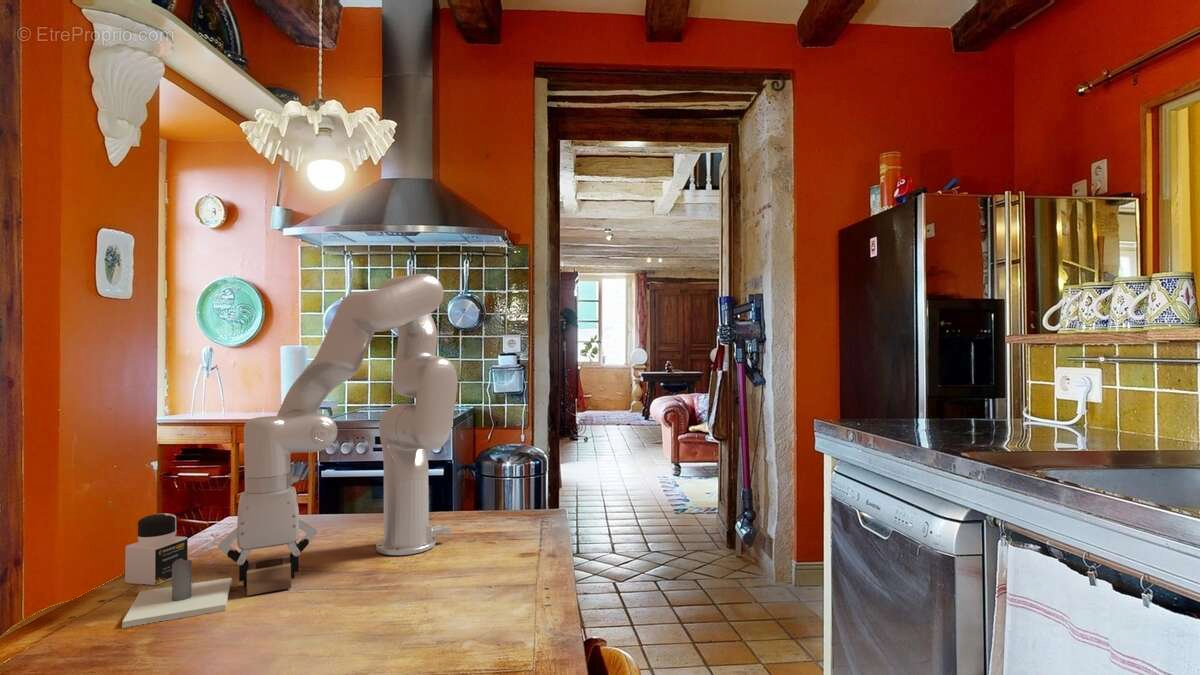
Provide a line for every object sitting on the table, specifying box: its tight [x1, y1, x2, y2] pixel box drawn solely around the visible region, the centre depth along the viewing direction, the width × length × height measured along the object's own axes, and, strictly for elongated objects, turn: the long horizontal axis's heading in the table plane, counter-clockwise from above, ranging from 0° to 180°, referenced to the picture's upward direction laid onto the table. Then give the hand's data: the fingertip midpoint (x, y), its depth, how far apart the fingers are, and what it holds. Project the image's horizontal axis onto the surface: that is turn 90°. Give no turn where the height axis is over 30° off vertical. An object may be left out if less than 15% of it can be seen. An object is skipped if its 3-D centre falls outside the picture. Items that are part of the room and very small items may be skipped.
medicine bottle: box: [124, 512, 189, 586], centre depth 119 cm, size 7×7×12 cm
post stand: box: [121, 559, 233, 629], centre depth 107 cm, size 14×14×7 cm
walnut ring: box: [246, 554, 292, 597], centre depth 114 cm, size 7×7×4 cm
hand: (269, 579), depth 114 cm, fingers closed on walnut ring, 7 cm apart
